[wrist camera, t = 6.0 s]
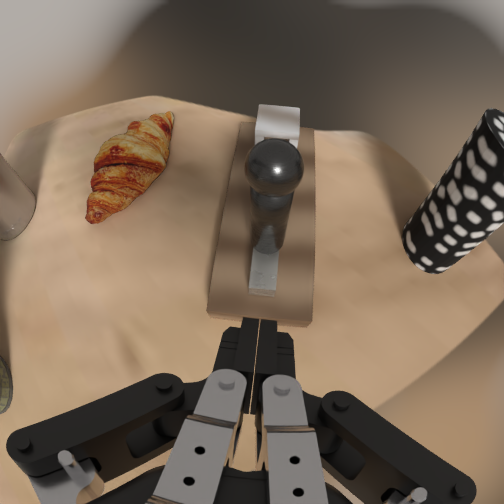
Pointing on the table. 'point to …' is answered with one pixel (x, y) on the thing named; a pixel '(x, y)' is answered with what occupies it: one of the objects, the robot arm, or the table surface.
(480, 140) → the spotted tube
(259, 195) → the bolt
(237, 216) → the door board
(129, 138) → the croissant
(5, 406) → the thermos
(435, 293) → the table surface
